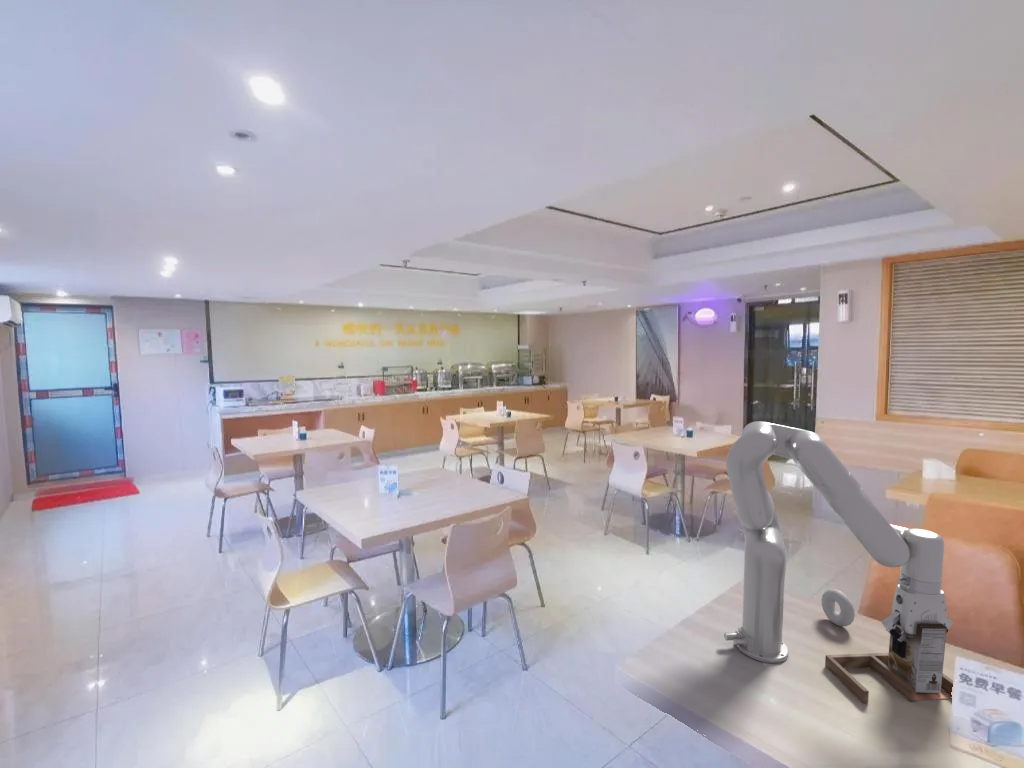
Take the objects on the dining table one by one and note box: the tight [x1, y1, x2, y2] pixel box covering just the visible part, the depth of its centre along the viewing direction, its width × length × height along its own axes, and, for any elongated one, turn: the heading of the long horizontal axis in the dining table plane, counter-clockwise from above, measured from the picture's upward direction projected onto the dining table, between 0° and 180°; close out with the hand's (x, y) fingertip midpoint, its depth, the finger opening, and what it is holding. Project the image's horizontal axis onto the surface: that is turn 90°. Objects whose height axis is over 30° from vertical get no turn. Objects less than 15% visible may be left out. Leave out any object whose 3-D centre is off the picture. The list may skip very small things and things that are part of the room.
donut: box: [821, 588, 856, 627], centre depth 143 cm, size 10×4×10 cm, turn 12°
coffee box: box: [888, 623, 948, 693], centre depth 119 cm, size 9×6×16 cm
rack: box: [824, 652, 954, 705], centre depth 119 cm, size 23×13×3 cm, turn 93°
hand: (915, 653), depth 118 cm, fingers open, 7 cm apart
